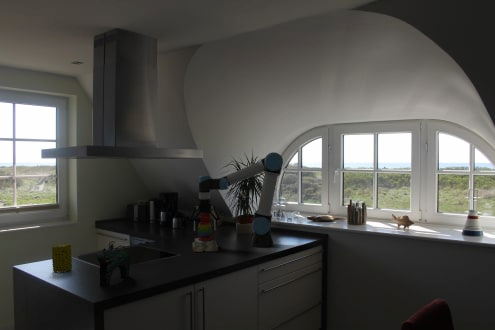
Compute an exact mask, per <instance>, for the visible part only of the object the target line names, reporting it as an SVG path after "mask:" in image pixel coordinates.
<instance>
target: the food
mask: <svg viewBox="0 0 495 330" xmlns="http://www.w3.org/2000/svg"><path fill="white" fill-rule="evenodd" d="M51 248H52V249H51V256H52V257H51V258H52V259H51V263H52V264H51V265H52V272H54V273H66V272H67V271H70V270H72V269H73V259H72V258H73V256H72V254H73V253H72V244H71V243H58V244H53V245H52V247H51Z"/></svg>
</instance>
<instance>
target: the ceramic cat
mask: <svg viewBox="0 0 495 330" xmlns="http://www.w3.org/2000/svg"><path fill="white" fill-rule="evenodd" d="M112 242H113V243H114V244H115V243H116V242H115V241H114V240H110V241H109V243H108V248H107V249H106V247H104V248H101V249H100V250H99V251H98V252H97V261H98V262H99V286H101V287H108V286H110V285H111V278H112V275H113V272H114V271H115V269H117V268H118V269H119V271H120V278H123V277H124V279H125V277H126V278H128V277H129V276H130V270H131V258H130V254H129V251H127V248H126V246H125V245H118V246H117V247H115V248H114V247H111V248H110V245H111V244H112ZM119 247H121V248H119Z"/></svg>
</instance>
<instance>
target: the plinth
mask: <svg viewBox="0 0 495 330" xmlns="http://www.w3.org/2000/svg"><path fill="white" fill-rule="evenodd" d="M218 248H219V246H218V243H217V241H216V240H215V238H214V239H212V240H211V241H199V240H198V237H197V238H196V237H195V238H194V241H193V242H192V252H193V253H198V252H199V253H200V252H201V253H202V252H203V251H205V252H218V251H219V249H218Z"/></svg>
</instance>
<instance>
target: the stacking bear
mask: <svg viewBox="0 0 495 330" xmlns="http://www.w3.org/2000/svg"><path fill="white" fill-rule="evenodd" d="M199 215H200V216H199V219H200V222H199V223H198V225H197V235H198V237H197V238H198V240H199V241H211V240H212V239H215V237H214V236H213V235H212V233H213V232H212V230H213V228H212V224H211V222H210V221H211V219H212V216H211V215H210V214H209V213H208V212H207V213H200V214H199Z"/></svg>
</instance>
